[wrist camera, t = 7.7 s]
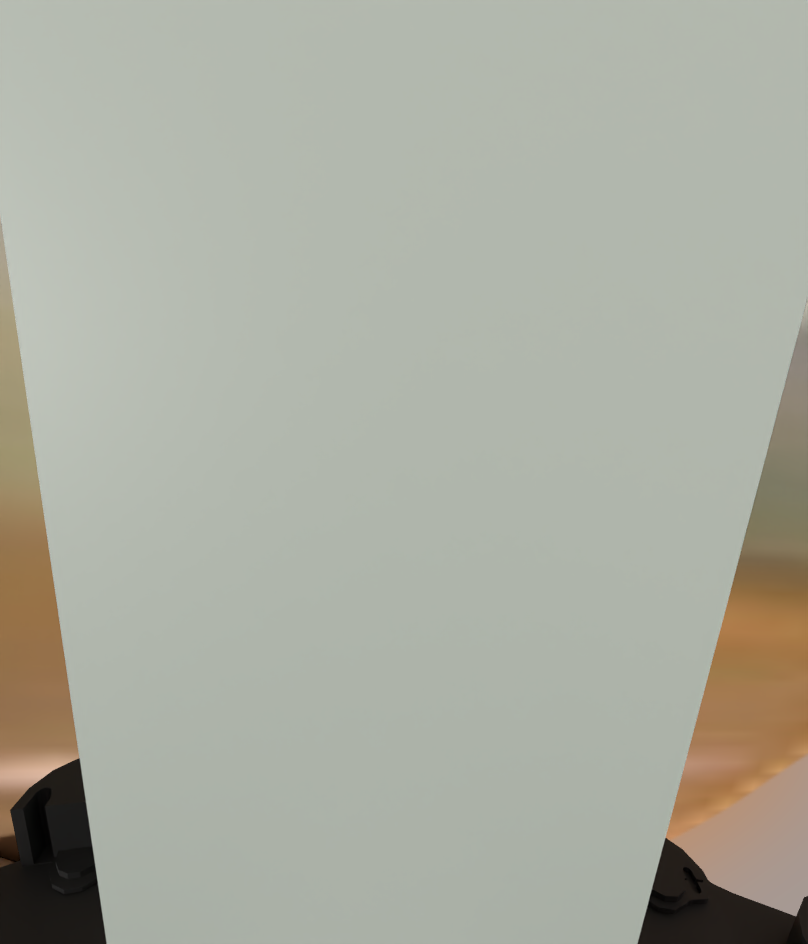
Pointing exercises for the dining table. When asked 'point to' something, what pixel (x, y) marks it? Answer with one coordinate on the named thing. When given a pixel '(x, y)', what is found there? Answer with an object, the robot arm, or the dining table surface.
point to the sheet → (396, 437)
